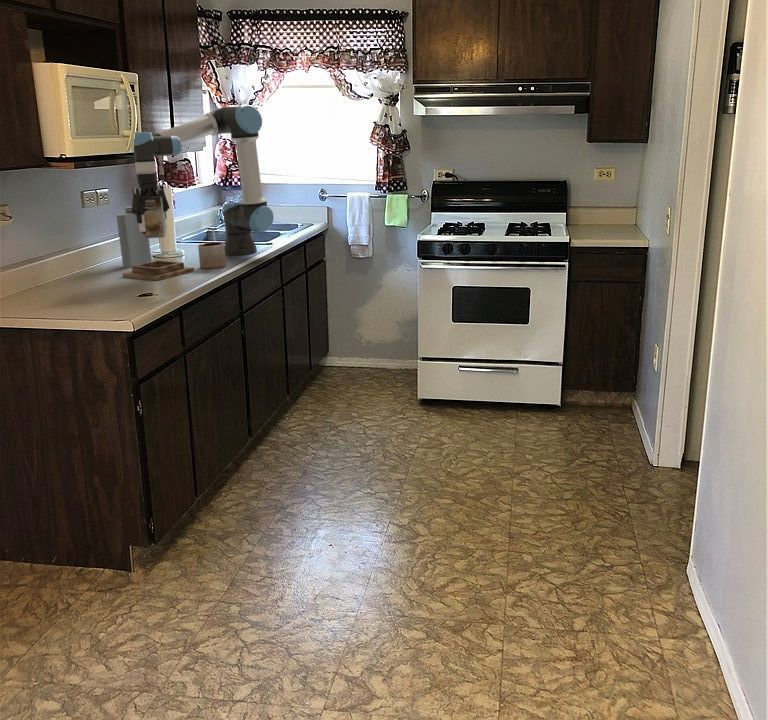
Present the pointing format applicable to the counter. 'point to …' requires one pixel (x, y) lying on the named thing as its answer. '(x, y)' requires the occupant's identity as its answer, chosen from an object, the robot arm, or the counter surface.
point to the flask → (132, 240)
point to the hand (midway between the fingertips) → (153, 229)
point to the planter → (212, 255)
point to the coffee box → (153, 218)
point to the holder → (158, 270)
